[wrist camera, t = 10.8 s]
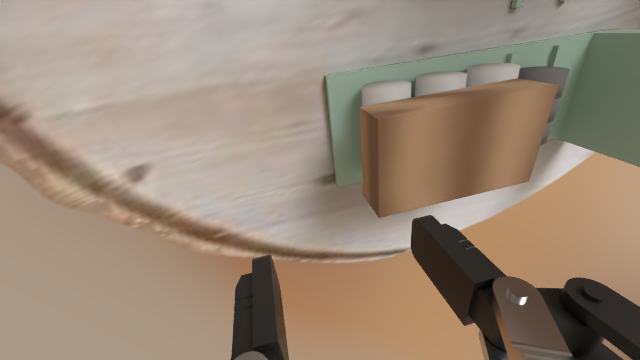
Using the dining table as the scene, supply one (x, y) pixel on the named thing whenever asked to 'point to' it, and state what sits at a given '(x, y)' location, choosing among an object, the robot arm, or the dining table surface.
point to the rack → (521, 3)
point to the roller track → (577, 111)
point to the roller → (552, 77)
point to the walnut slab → (452, 143)
